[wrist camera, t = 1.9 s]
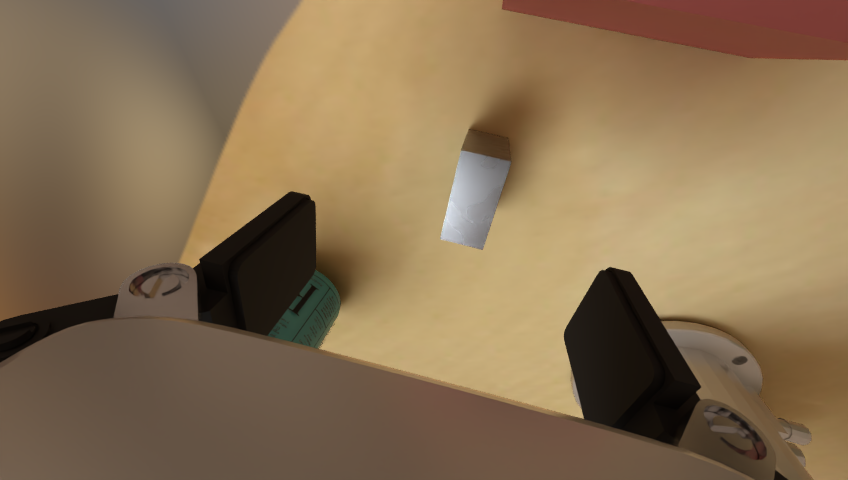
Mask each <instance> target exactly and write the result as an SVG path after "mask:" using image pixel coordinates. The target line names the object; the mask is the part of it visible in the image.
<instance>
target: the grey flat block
mask: <svg viewBox="0 0 848 480" xmlns="http://www.w3.org/2000/svg"><path fill="white" fill-rule="evenodd" d="M510 165H511V155H510V148H509V140H508V138H506V137H502V136H498V135H493V134H489V133H484V132H480V131H475V130H471V129H469V130H468V133H467V135H466V138H465V141H464V144H463V146H462V149H461V153H460V157H459V161H458V165H457V170H456V174H455V178H454V182H453V186H452V191H451V195H450V199H449V203H448V208H447V212H446V216H445V220H444V224H443V229H442V233H441V237H440V239H442V240H446V241H450V242H454V243H458V244H462V245H466V246H470V247H473V248H477V249H481V250H483V247H484V244H485V241H486V238H487V235H488V232H489V229H490V226H491V223H492V220H493V217H494V214H495V211H496V208H497V204H498V201H499V198H500V195H501V192H502V189H503V186H504V183H505V180H506V177H507V174H508V171H509V168H510Z"/></svg>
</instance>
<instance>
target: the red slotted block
mask: <svg viewBox="0 0 848 480" xmlns="http://www.w3.org/2000/svg"><path fill="white" fill-rule="evenodd" d="M502 9H504V10H509V11H514V12H519V13H524V14H530V15H535V16H540V17H545V18H550V19H555V20H560V21H565V22H570V23H575V24H580V25H585V26H590V27H595V28H601V29H606V30H611V31H616V32H621V33H626V34H631V35H636V36H641V37H646V38H651V39H656V40H661V41H666V42H672V43H677V44H682V45H687V46H692V47H697V48H702V49H707V50H712V51H717V52H722V53H727V54H732V55H737V56H743V57H748V58H773V59H820V60H848V0H503V4H502Z"/></svg>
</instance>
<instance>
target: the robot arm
mask: <svg viewBox="0 0 848 480" xmlns="http://www.w3.org/2000/svg"><path fill="white" fill-rule="evenodd" d="M199 260H200V263H199V264H198V265H197V266H195V267H194V268H191V267H190V266H188V265H185V264H180V263H164V264H158V265H153V266H149V267H147V268H144V269H141V270H139V271H137V272H135V273H134V274H132V275H131V276H129V277H128V278H127V279H126V280H125V281H124V282H123V283H122V285H121V288H120V290H119V294H117V295H112V296H108V297H103V298H99V299H95V300H89V301H85V302H80V303H75V304H71V305H66V306H62V307H58V308H52V309H48V310H43V311H39V312H35V313H29V314H25V315H20V316H17V317H13V318H9V319H6V320H3V321H1V322H0V480H813V478H812V477H811V476H810V474H809V473H808V472H807V470H806V469H805V468H804V467H805V465H806V464H805V457H804V455H803V453H802V451H801V450H800V449H799V448H798V447H797V446H796V445H794V444H792V443H789V442H793V443H797V444H800V445H807V444H809V443H810V441H811V433H810V431H809V429H808V428H807V427H805V426H804V425H803V424H799V423H795V422H792V421H788V420H785V419H781V418H776V417H775V416H774V415H773V413H772V412H771V411H770V409H769V408H768V407H767V406H766V404H765V403H764V402H763V400H762V399H761V398H760V396H759V394H760V392H761V390H762V383H763V376H762V371H761V367H760V366H759V364H758V362H757V361H756V359H755V358H754V356H753V355H752V354H751V353H750V352H749V351H748V350H747V348H746V347H745V346H744V345H743V344H742V343H741V342H739V341H738V340H737V339H735V338H734V337H732V336H731V335H730V334H727V333H725V332H723V331H720V330H718V329H716V328H713V327H709V326H706V325H702V324H698V323H691V322H682V321H661V320H660V319H659V317H658V315H657V314H656V312H655V311H654V309H653V307H652V306H651V304H650V302H649V301H648V299H647V298H646V296H645V294H644V293H643V291H642V290H641V288H640V286H639V285H638V283H637V281H636V280H635V278H634V277H633V275H632V274H631V273H630V272H628V271H624V270H620V269H616V268H612V267H609V268H607V269H606V270H601V271H600V272H599V273H598V275H597V276H596V278H595V280H594V281H593V283H592V285H591V286H590V288H589V290H588V291H587V293H586V295H585V296H584V298H583V300H582V302H581V303H580V305H579V307H578V308H577V310H576V312H575V313H574V315H573V317H572V318H571V320H570V322H569V323H568V325H567V327H566V329H565V332H564V341H565V345H566V349H567V353H568V357H569V361H570V364H571V368H572V371H571V384H572V390H573V394H574V397H575V399H576V402H577V404H578V405H579V406H580V408H581V409H582V412H583V416H584V419H581V418H578V417H574V416H570V415H566V414H563V413H559V412H555V411H552V410H548V409H544V408H540V407H537V406H533V405H529V404H526V403H522V402H518V401H515V400H511V399H507V398H503V397H500V396H496V395H492V394H489V393H485V392H481V391H477V390H474V389H470V388H466V387H462V386H458V385H455V384H451V383H447V382H443V381H440V380H436V379H432V378H428V377H424V376H421V375H417V374H413V373H409V372H406V371H402V370H398V369H394V368H390V367H387V366H383V365H379V364H375V363H371V362H367V361H363V360H360V359H356V358H352V357H348V356H344V355H340V354H336V353H333V352H329V351H325V350H321V349H317V348H313V347H309V346H305V345H302V344H298V343H294V342H290V341H286V340H282V339H278V338H274V337H269V336H268V334H269V333H270V332H271V330H272V329H273V328H274V326H275V325H276V324H277V322H278V321H279V320H280V319H281V317H282V316H283V315H284V313H285V312H286V311H287V309H288V308H289V307H290V305H291V304H292V303H293V301H294V300H295V299H296V297H297V296H298V295H299V293H300V292H301V291H302V289H303V288H304V287H305V286H306V284H307V283H308V282H309V280H310V279H311V278H312V276H313V275H314V272H315V269H316V206H315V202H314V201H312V200H311V198H310V196H309V195H305V194H301V193H297V192H293V191H291V192H289V193H288V194H286V195H285V196H284V197H282V198H281V199H279V200H278V201H277V202H275V203H274V204H273V205H271V206H270V207H269V208H267V209H266V210H265V211H263V212H262V213H261V214H259V215H258V216H257V217H255V218H254V219H253V220H251V221H250V222H249V223H247V224H246V225H245V226H243V227H242V228H241V229H239V230H238V231H237V232H235V233H234V234H233V235H231V236H230V237H229V238H227V239H226V240H225V241H223V242H222V243H220V244H219V245H218V246H216V247H215V248H214V249H212V250H211V251H210V252H208V253H207V254H206V255H204V256H203V257H202V258H200V259H199ZM784 440H786V441H789V442H786V441H784Z"/></svg>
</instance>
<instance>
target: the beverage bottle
mask: <svg viewBox="0 0 848 480" xmlns="http://www.w3.org/2000/svg"><path fill="white" fill-rule="evenodd" d="M339 309H340V296H339V294H338V291H337V289H336V288H335V286H334V285H333V284H332V282H331V281H330V280H329V279H328V278H327V277H325V276H324V275H323V274H322V273H320V272H318V271H317V270H315V272H314V275H313V276H312V278H311V279H310V280H309V282H308V283H307V284H306V286H305V287H304V288H303V289H302V291H301V292H300V293H299V295H298V296H297V297H296V299H295V300H294V301H293V303H292V304H291V305H290V307H289V308H288V309H287V311H286V312H285V313H284V315H283V316H282V317H281V319H280V320H279V321H278V322H277V324H276V325H275V326H274V328H273V329H272V330H271V332H270V333H269V334H268V336H269V337H274V338H278V339H282V340H286V341H290V342H294V343H298V344H302V345H305V346H309V347H313V348H317V349H319V346H321V345H322V344H323V343H324V342H323V343H322V341H323V339H324V338H325V336H326V334H327V333H328V332H329V329H330V328H331V327H332V325H333V323H334V321H335V320H336V318H337V316H338V314H339ZM334 325H335V324H334ZM331 330H332V329H331ZM329 333H330V332H329ZM328 335H329V334H328ZM321 343H322V344H321ZM320 344H321V345H320Z"/></svg>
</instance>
